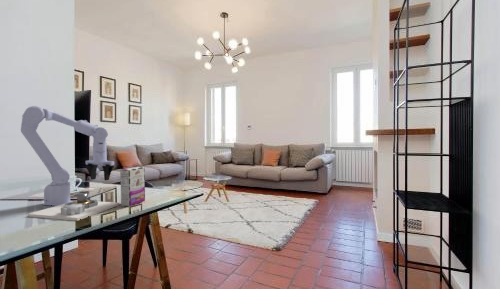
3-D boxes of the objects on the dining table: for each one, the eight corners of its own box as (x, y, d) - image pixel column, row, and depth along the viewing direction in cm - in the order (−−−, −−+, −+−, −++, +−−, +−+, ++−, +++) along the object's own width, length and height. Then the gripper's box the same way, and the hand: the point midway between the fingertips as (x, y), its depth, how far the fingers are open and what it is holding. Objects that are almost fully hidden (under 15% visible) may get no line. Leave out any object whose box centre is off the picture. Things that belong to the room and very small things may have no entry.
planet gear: (67, 207, 105) (67, 195, 105) (81, 203, 112) (81, 191, 112) (82, 208, 104) (82, 196, 104) (95, 203, 111) (95, 192, 111)
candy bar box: (136, 200, 123) (136, 166, 122) (145, 200, 122) (145, 166, 121) (119, 206, 112) (119, 169, 111) (129, 207, 111) (129, 169, 110)
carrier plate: (27, 216, 96) (27, 207, 96) (77, 202, 118) (77, 194, 117) (77, 220, 92) (77, 211, 92) (119, 205, 113) (119, 197, 113)
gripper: (118, 151, 126) (118, 179, 127) (93, 151, 129) (93, 177, 129) (108, 152, 119) (108, 181, 120) (81, 152, 122) (82, 180, 123)
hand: (100, 179), depth 124 cm, fingers open, 7 cm apart
